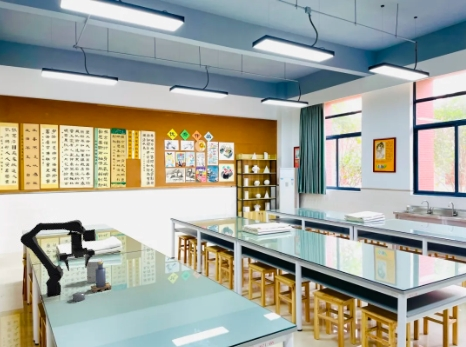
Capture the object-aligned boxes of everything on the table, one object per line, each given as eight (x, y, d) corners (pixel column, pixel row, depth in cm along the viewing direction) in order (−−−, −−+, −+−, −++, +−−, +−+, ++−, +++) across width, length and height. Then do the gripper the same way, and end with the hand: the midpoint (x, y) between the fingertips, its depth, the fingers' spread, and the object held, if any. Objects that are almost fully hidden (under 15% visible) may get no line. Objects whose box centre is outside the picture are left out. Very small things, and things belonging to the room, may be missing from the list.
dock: (93, 292, 199) (93, 289, 199) (90, 289, 204) (90, 286, 204) (111, 289, 204) (111, 285, 204) (108, 285, 210) (108, 282, 210)
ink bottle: (99, 288, 201) (98, 264, 200) (94, 286, 204) (93, 262, 204) (107, 285, 205) (107, 261, 204) (102, 283, 208) (101, 260, 208)
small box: (103, 278, 223) (102, 258, 223) (100, 282, 217) (100, 261, 217) (90, 279, 222) (89, 259, 222) (86, 282, 216) (86, 262, 216)
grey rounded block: (73, 302, 185) (73, 297, 185) (71, 299, 190) (71, 293, 190) (85, 300, 188) (85, 294, 188) (83, 296, 193) (83, 291, 193)
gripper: (61, 247, 188) (61, 276, 189) (97, 242, 199) (97, 269, 199) (57, 243, 197) (58, 271, 198) (92, 239, 208) (92, 265, 208)
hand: (77, 269), depth 201 cm, fingers open, 9 cm apart
